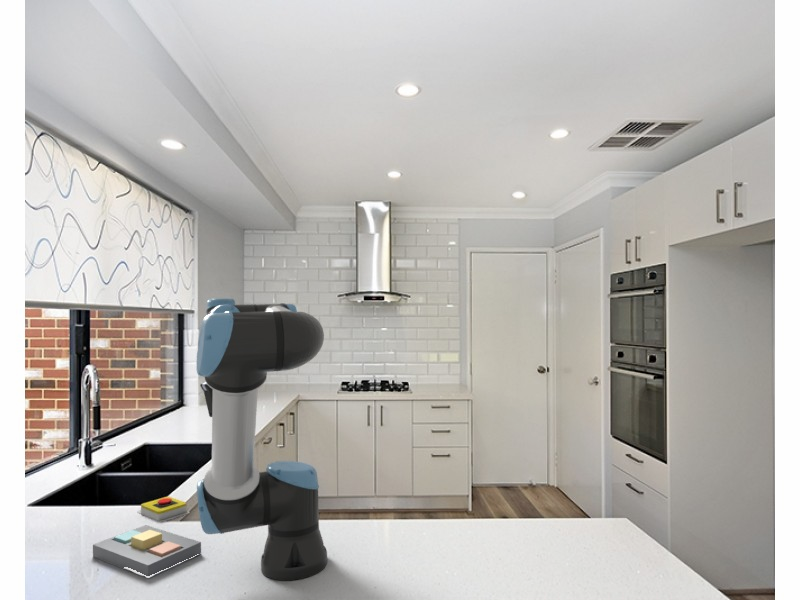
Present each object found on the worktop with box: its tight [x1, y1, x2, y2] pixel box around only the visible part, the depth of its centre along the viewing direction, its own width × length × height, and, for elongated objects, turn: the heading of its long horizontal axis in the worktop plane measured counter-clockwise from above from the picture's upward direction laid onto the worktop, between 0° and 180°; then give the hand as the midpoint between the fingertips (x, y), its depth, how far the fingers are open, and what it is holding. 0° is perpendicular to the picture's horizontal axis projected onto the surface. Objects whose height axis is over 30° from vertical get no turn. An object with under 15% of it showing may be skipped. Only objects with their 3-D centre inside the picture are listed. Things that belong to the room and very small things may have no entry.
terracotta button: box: [149, 541, 181, 557], centre depth 128 cm, size 5×5×3 cm
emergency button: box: [137, 496, 190, 523], centre depth 162 cm, size 9×4×15 cm
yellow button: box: [131, 530, 162, 551], centre depth 132 cm, size 5×5×3 cm
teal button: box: [113, 529, 141, 544], centre depth 136 cm, size 5×5×3 cm
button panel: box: [92, 524, 202, 576], centre depth 132 cm, size 23×14×3 cm, turn 58°
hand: (223, 441), depth 146 cm, fingers closed
